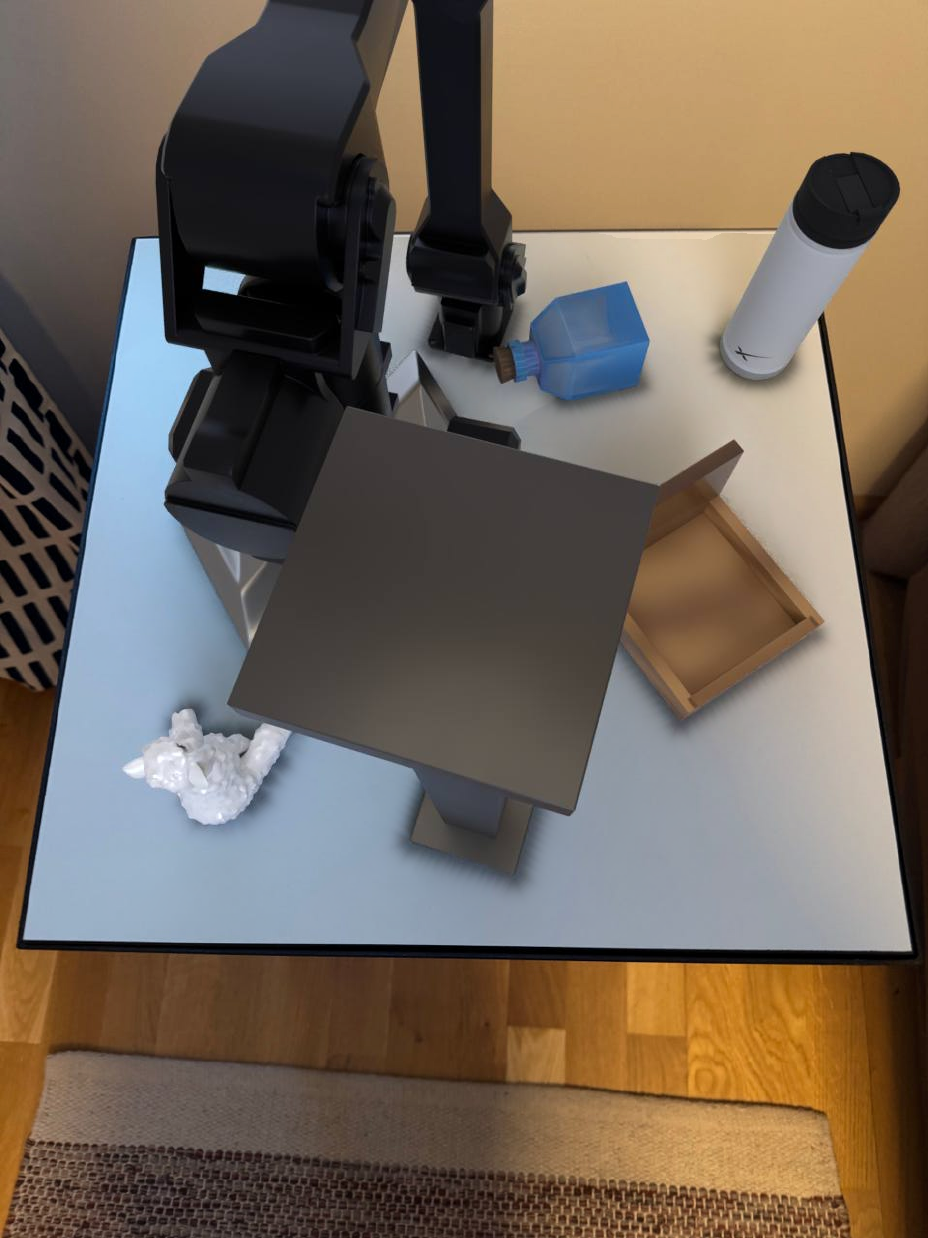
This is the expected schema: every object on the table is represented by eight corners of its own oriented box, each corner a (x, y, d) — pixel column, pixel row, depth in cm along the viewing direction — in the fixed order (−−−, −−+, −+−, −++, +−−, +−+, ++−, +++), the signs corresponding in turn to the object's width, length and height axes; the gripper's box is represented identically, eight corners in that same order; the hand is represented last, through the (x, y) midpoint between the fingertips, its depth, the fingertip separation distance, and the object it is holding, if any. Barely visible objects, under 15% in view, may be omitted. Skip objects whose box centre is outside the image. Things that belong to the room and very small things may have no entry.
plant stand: (443, 740, 65) (346, 404, 21) (543, 770, 64) (660, 485, 20) (410, 842, 62) (225, 704, 19) (514, 875, 61) (575, 811, 18)
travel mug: (731, 390, 74) (829, 226, 54) (710, 326, 75) (798, 145, 56) (798, 378, 74) (920, 211, 55) (777, 314, 76) (887, 131, 56)
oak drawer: (574, 580, 68) (588, 529, 59) (701, 500, 70) (734, 438, 61) (680, 721, 64) (712, 691, 55) (811, 633, 66) (864, 588, 57)
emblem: (187, 328, 71) (516, 340, 70) (208, 366, 76) (514, 378, 75) (124, 643, 62) (499, 664, 61) (151, 663, 67) (498, 682, 66)
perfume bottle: (616, 328, 76) (488, 358, 75) (626, 281, 70) (488, 312, 70) (637, 385, 74) (506, 415, 74) (650, 340, 68) (507, 373, 68)
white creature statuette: (298, 719, 65) (257, 681, 54) (282, 832, 63) (236, 817, 51) (179, 711, 66) (114, 672, 54) (158, 823, 63) (85, 806, 52)
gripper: (71, 471, 38) (185, 602, 52) (474, 559, 36) (476, 669, 50) (162, 281, 42) (245, 452, 56) (530, 351, 40) (516, 510, 54)
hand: (365, 521), depth 54 cm, fingers open, 9 cm apart
